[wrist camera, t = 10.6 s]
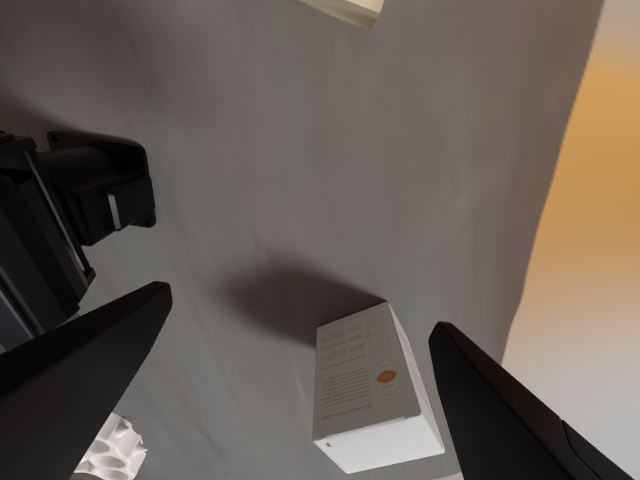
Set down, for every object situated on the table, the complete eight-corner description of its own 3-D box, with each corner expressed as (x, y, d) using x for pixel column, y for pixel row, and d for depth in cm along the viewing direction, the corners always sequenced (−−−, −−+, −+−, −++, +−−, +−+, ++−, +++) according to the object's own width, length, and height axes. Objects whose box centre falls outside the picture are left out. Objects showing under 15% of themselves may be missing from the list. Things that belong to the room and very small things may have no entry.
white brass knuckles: (16, 393, 36) (118, 390, 35) (85, 456, 44) (168, 456, 43) (-12, 420, 33) (98, 417, 32) (68, 482, 41) (157, 482, 40)
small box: (339, 357, 30) (344, 476, 20) (315, 325, 27) (309, 443, 18) (408, 335, 28) (448, 456, 18) (388, 298, 25) (423, 415, 16)
